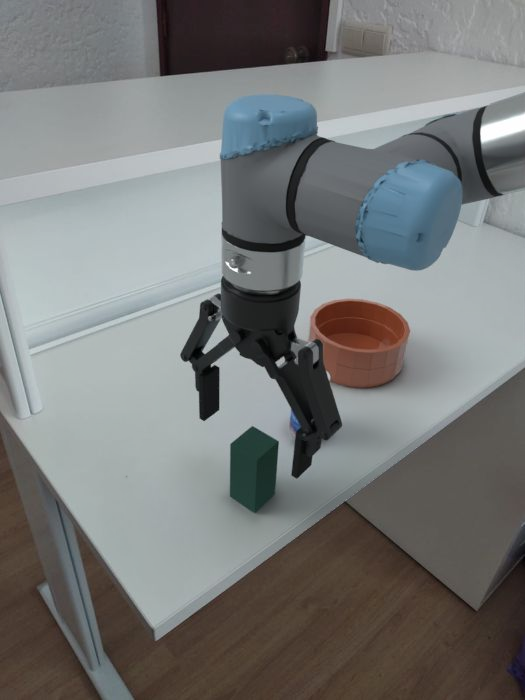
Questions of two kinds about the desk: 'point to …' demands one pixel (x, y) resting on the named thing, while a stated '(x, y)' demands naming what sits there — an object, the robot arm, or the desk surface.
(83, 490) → the desk surface
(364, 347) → the bowl
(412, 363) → the desk surface
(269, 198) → the robot arm
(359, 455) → the desk surface
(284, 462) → the desk surface
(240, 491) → the green block
